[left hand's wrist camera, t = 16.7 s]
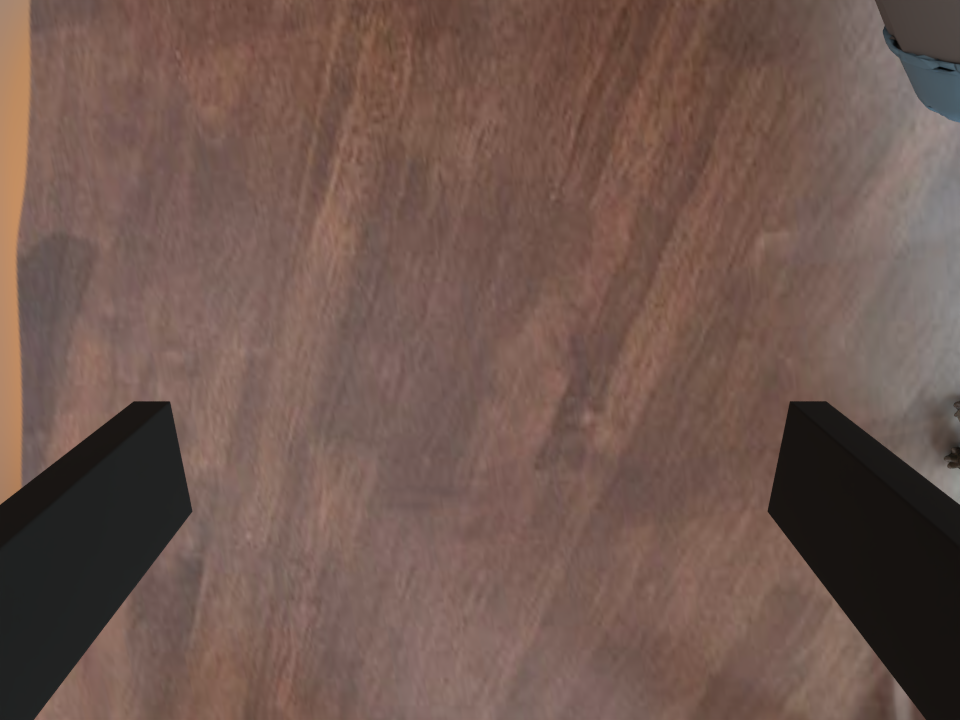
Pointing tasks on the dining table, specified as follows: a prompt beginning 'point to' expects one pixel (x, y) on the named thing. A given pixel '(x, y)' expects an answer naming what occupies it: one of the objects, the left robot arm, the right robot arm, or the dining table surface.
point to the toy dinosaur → (955, 459)
